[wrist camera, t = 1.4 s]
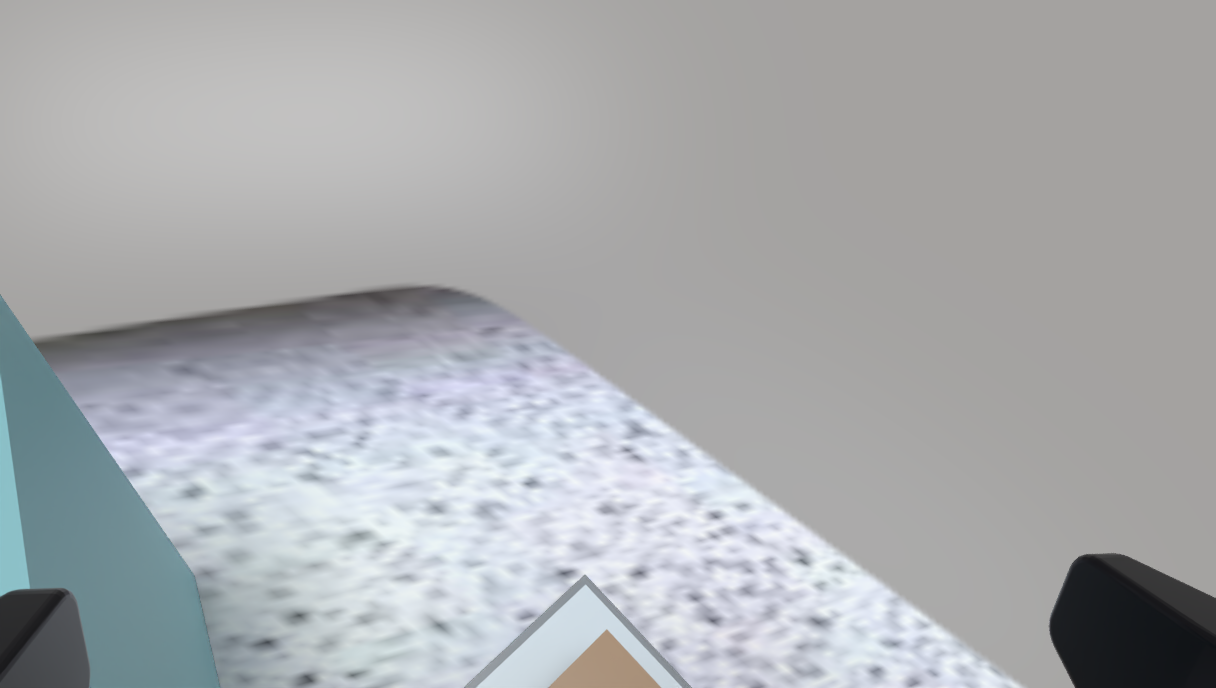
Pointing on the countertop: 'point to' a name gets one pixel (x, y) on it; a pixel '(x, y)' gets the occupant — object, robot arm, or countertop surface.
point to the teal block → (90, 533)
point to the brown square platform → (580, 650)
